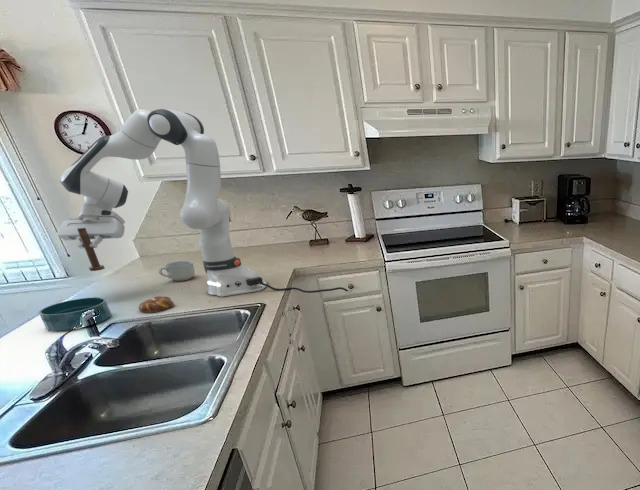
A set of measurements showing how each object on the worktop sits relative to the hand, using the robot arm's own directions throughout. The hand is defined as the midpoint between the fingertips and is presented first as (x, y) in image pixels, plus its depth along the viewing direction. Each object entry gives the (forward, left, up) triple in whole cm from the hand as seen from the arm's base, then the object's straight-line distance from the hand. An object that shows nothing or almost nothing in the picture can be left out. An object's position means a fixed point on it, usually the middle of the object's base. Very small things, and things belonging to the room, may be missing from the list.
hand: (87, 247), depth 158 cm
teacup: (-16, -27, -23) cm, 39 cm away
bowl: (+1, +20, -23) cm, 30 cm away
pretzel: (-20, +13, -23) cm, 34 cm away
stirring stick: (0, -1, -9) cm, 9 cm away
